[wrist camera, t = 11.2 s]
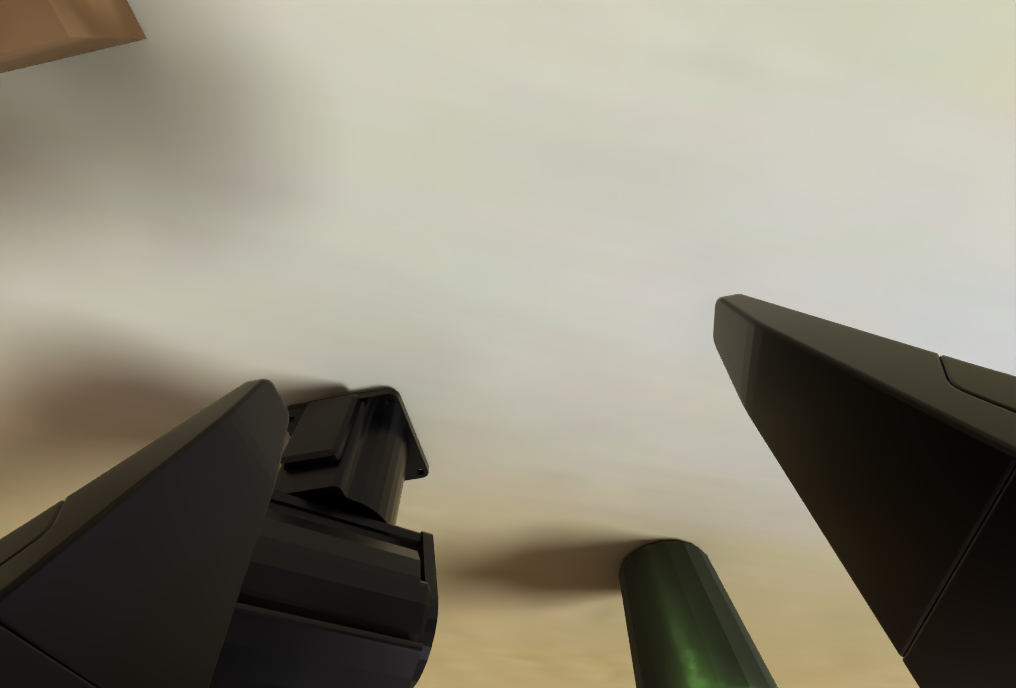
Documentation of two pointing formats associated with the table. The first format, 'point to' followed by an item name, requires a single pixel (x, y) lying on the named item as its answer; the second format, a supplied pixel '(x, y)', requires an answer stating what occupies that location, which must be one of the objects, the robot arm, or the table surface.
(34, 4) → the block
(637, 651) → the potion bottle
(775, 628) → the table surface
